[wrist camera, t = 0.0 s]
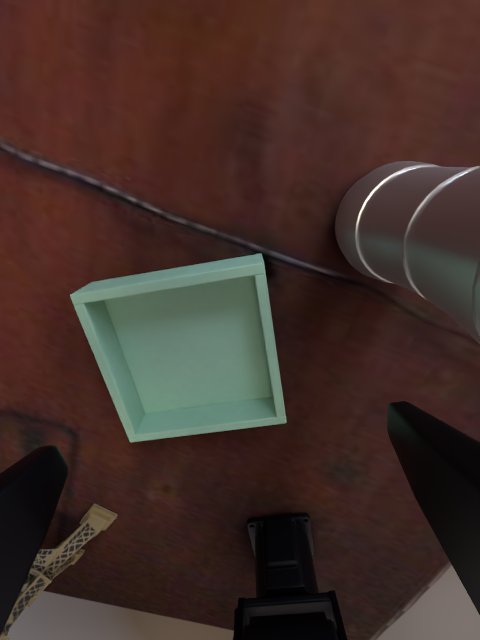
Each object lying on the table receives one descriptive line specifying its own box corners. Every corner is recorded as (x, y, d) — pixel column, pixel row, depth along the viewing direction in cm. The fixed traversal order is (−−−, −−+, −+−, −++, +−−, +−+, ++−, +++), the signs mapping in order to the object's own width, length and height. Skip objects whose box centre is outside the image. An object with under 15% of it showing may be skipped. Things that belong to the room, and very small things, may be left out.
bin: (282, 398, 25) (286, 423, 23) (141, 416, 26) (129, 443, 24) (261, 253, 21) (264, 262, 18) (91, 282, 22) (68, 295, 19)
